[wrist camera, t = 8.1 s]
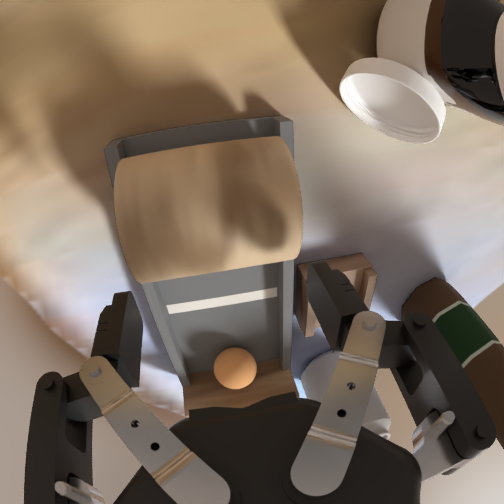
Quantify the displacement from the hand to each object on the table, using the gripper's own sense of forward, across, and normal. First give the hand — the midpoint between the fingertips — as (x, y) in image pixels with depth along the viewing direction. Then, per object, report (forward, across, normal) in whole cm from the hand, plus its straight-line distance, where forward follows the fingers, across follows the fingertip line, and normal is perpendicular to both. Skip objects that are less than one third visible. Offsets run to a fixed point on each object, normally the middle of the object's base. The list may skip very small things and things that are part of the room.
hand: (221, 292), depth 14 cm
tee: (+9, -10, +9) cm, 16 cm away
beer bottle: (+9, -23, +15) cm, 29 cm away
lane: (+9, 0, +6) cm, 11 cm away
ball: (+6, 0, +15) cm, 16 cm away
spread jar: (+9, -15, -10) cm, 20 cm away
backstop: (+9, 0, +18) cm, 21 cm away
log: (+9, 0, -2) cm, 9 cm away
